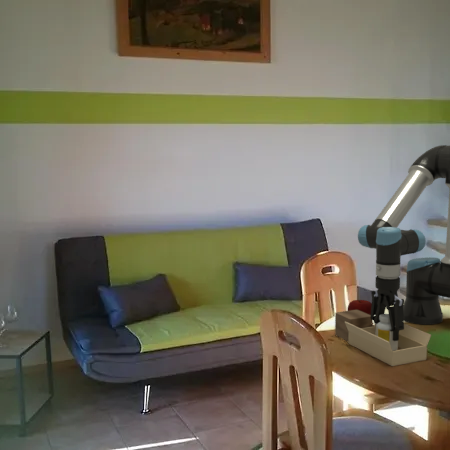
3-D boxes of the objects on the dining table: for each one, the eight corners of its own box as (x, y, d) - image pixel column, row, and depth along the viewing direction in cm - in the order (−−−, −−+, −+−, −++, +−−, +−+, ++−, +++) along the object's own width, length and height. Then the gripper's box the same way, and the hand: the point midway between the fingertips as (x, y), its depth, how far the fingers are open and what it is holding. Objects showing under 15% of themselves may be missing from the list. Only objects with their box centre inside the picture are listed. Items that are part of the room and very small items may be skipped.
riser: (356, 331, 225) (357, 309, 224) (372, 338, 217) (372, 316, 216) (335, 334, 222) (335, 312, 221) (350, 342, 214) (350, 319, 213)
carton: (384, 337, 219) (384, 315, 218) (430, 358, 198) (431, 334, 197) (344, 344, 212) (344, 321, 211) (387, 366, 191) (388, 341, 190)
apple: (364, 321, 237) (365, 295, 235) (379, 328, 228) (380, 301, 227) (342, 324, 234) (342, 298, 232) (356, 332, 225) (356, 304, 223)
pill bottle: (397, 354, 201) (398, 319, 200) (376, 353, 203) (376, 318, 201) (395, 347, 208) (396, 313, 206) (375, 346, 209) (376, 312, 207)
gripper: (359, 271, 209) (358, 339, 212) (398, 284, 191) (396, 357, 195) (378, 269, 212) (377, 336, 215) (418, 281, 194) (415, 354, 198)
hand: (386, 346), depth 205 cm, fingers closed on pill bottle, 6 cm apart
